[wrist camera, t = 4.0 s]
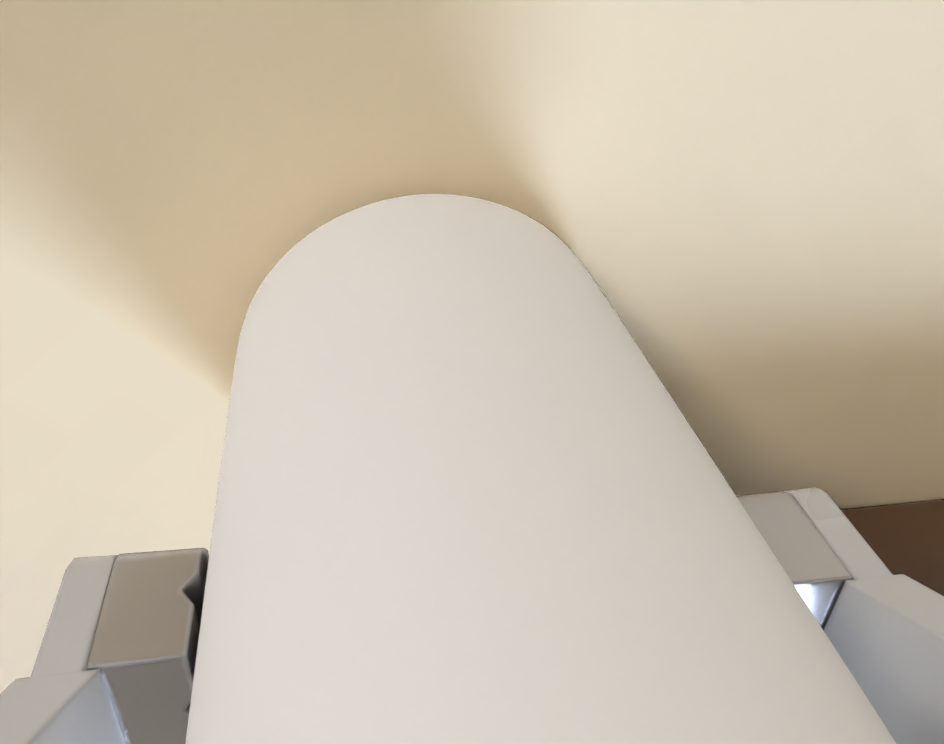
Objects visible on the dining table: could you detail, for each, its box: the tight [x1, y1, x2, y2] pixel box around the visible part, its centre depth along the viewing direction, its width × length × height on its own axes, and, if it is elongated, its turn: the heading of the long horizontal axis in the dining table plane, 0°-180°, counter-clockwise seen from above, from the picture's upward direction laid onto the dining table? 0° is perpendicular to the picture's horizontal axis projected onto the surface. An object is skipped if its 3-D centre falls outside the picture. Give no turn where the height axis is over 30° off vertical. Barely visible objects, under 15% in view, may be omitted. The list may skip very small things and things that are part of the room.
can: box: [185, 194, 896, 744], centre depth 9 cm, size 6×6×12 cm
